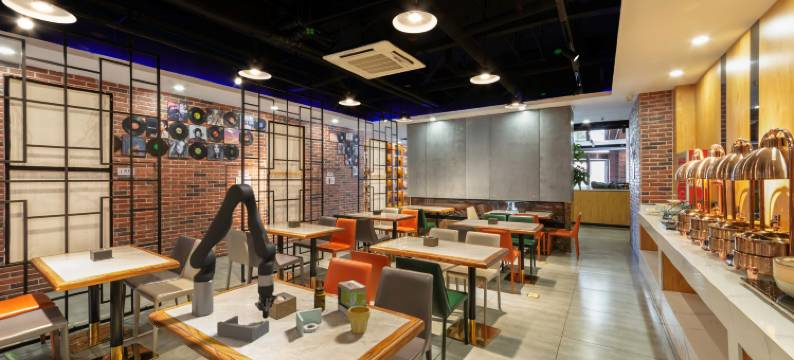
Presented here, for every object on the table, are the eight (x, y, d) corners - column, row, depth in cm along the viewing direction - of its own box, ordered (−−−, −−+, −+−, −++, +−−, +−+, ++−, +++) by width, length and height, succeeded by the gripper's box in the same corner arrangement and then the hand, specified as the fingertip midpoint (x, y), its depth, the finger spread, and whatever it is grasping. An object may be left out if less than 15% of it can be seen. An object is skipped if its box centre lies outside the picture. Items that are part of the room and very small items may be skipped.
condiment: (328, 311, 185) (328, 288, 185) (312, 314, 180) (312, 291, 180) (322, 306, 191) (323, 285, 191) (308, 310, 186) (308, 287, 186)
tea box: (366, 314, 181) (367, 286, 181) (349, 318, 175) (349, 289, 175) (353, 305, 193) (353, 279, 193) (337, 309, 187) (337, 282, 187)
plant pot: (369, 325, 167) (369, 305, 167) (371, 334, 157) (371, 313, 157) (347, 326, 165) (347, 306, 165) (348, 336, 155) (348, 314, 155)
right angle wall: (301, 337, 155) (301, 321, 155) (296, 327, 165) (296, 311, 165) (327, 332, 160) (327, 316, 160) (320, 322, 171) (321, 307, 171)
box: (217, 336, 155) (217, 322, 155) (235, 326, 165) (235, 313, 165) (252, 342, 149) (252, 328, 149) (269, 331, 159) (269, 318, 159)
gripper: (268, 278, 179) (268, 312, 179) (250, 286, 166) (249, 322, 166) (280, 280, 176) (280, 314, 176) (262, 287, 164) (262, 324, 164)
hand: (265, 317), depth 171 cm, fingers closed
